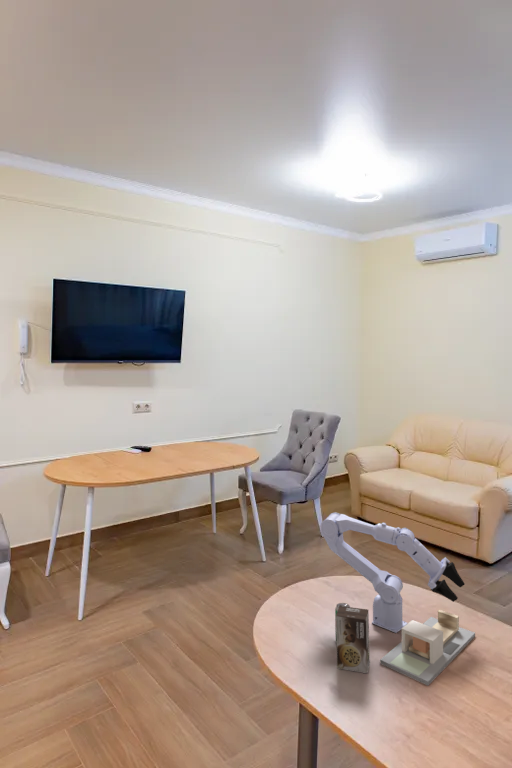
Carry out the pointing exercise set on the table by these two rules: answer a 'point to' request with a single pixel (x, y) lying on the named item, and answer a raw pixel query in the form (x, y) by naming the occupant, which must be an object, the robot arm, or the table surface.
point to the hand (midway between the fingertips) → (459, 592)
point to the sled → (442, 629)
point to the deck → (420, 665)
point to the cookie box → (352, 639)
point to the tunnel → (423, 638)
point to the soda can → (336, 612)
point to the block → (421, 645)
